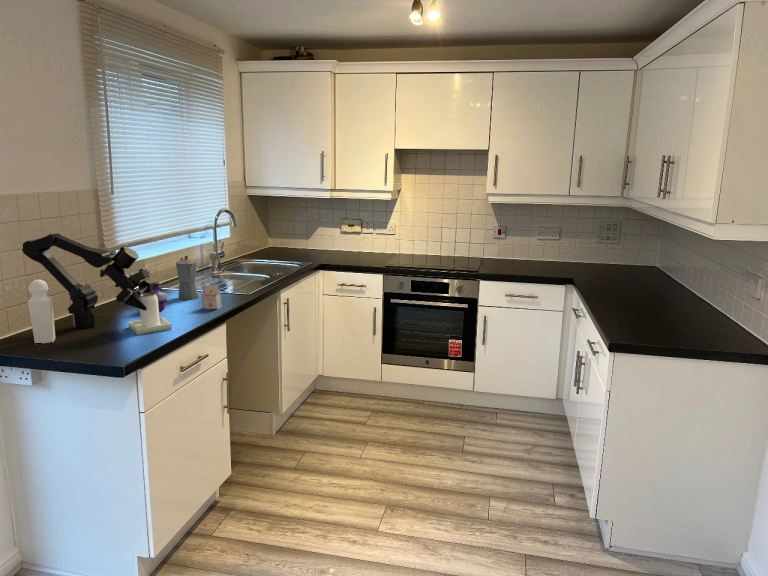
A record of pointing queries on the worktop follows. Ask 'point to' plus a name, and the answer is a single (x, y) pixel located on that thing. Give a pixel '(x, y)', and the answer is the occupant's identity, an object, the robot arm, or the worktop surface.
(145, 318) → the can
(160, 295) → the potion bottle
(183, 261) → the moka pot
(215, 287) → the cream paper food packet
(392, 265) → the worktop surface
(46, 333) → the white bottle
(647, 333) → the worktop surface
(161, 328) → the tray
